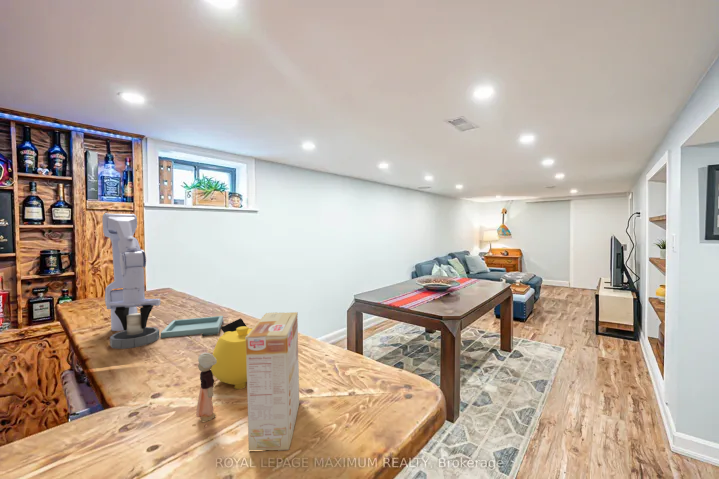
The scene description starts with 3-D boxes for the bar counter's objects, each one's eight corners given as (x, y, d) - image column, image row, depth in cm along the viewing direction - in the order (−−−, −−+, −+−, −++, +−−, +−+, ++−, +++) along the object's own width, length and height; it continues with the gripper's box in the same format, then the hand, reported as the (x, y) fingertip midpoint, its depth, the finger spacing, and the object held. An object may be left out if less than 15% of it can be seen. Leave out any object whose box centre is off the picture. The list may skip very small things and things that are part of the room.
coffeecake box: (266, 403, 66) (265, 312, 65) (300, 401, 66) (299, 311, 66) (246, 453, 51) (243, 336, 51) (289, 450, 52) (287, 334, 51)
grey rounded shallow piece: (120, 339, 107) (120, 329, 107) (163, 335, 111) (163, 325, 111) (103, 353, 95) (102, 342, 94) (151, 347, 99) (151, 337, 98)
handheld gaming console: (252, 340, 100) (235, 315, 102) (234, 354, 100) (217, 328, 102) (265, 333, 112) (249, 311, 113) (249, 346, 112) (234, 323, 113)
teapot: (246, 360, 88) (245, 316, 88) (295, 379, 77) (295, 328, 76) (198, 379, 77) (197, 329, 77) (247, 404, 65) (246, 345, 65)
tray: (173, 326, 121) (172, 320, 121) (223, 321, 127) (222, 315, 127) (160, 340, 106) (160, 332, 106) (218, 334, 111) (218, 327, 111)
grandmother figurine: (190, 412, 63) (188, 350, 62) (210, 405, 65) (208, 345, 65) (203, 429, 57) (201, 362, 57) (224, 420, 60) (223, 356, 60)
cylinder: (130, 331, 104) (129, 313, 104) (145, 330, 105) (144, 312, 105) (124, 335, 100) (124, 317, 100) (140, 334, 101) (140, 316, 101)
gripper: (101, 291, 96) (102, 334, 97) (155, 288, 101) (156, 329, 101) (111, 287, 103) (113, 328, 103) (161, 284, 107) (162, 323, 108)
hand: (135, 328), depth 103 cm, fingers closed on cylinder, 4 cm apart
